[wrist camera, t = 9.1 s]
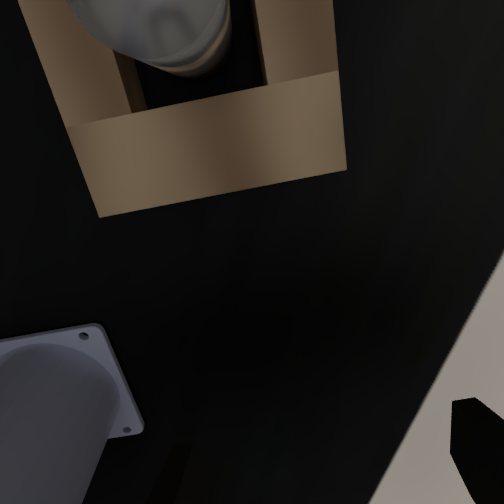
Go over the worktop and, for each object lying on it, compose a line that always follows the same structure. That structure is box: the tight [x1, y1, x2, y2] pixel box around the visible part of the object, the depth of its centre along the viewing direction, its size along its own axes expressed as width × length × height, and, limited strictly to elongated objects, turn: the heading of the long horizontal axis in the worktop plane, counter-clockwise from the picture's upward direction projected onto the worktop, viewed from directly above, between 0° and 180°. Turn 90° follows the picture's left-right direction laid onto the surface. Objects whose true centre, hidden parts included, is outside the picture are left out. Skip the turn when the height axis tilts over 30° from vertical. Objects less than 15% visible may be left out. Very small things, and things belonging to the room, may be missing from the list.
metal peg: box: [66, 0, 233, 80], centre depth 10 cm, size 3×3×8 cm
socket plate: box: [18, 0, 347, 217], centre depth 13 cm, size 10×12×2 cm
